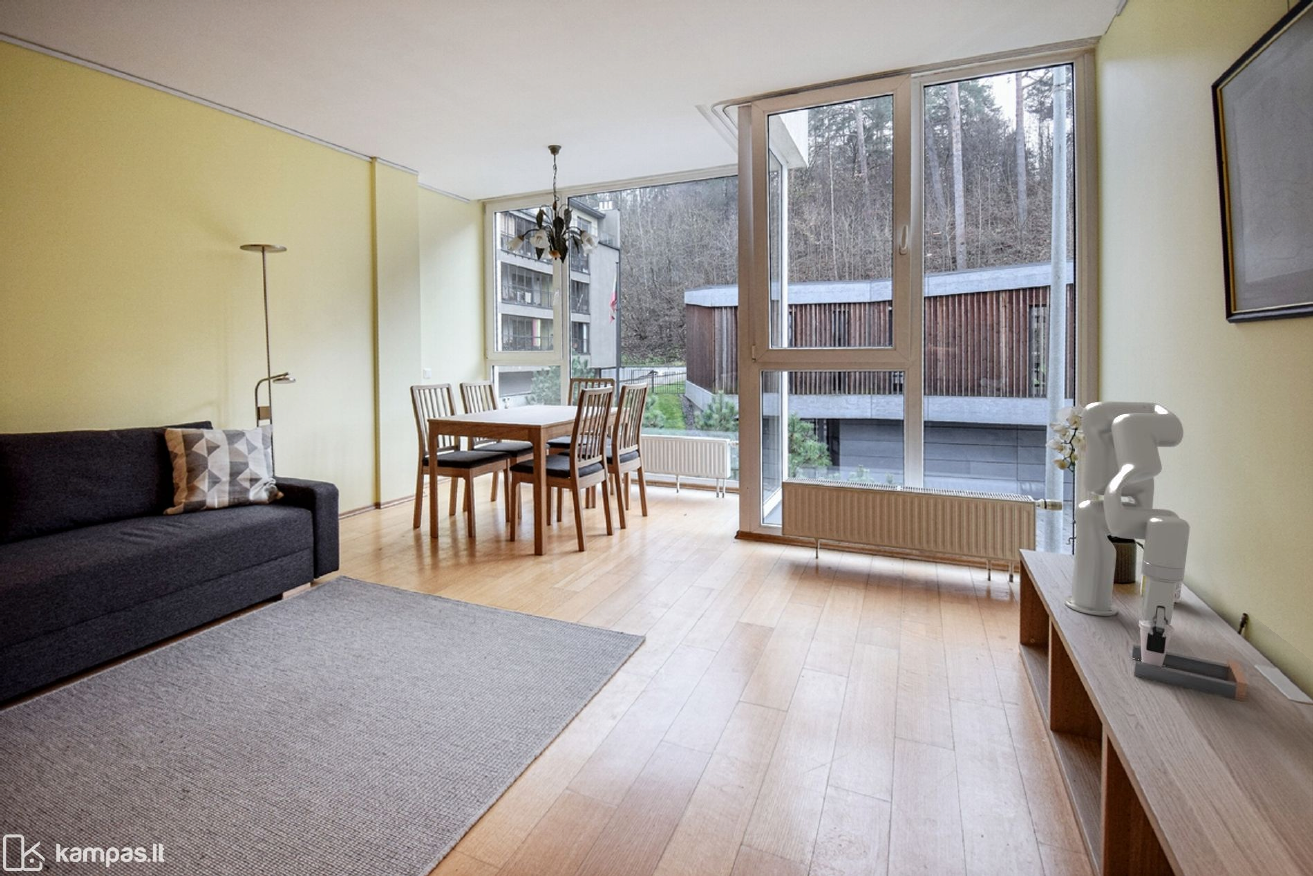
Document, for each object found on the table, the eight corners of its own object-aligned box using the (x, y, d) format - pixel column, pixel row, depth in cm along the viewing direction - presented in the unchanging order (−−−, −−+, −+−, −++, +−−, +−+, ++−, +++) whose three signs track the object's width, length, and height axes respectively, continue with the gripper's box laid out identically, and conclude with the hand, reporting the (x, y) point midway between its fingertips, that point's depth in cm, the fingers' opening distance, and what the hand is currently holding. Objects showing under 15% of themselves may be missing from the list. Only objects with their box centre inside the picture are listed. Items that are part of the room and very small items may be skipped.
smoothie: (1127, 660, 147) (1134, 603, 145) (1146, 655, 149) (1152, 599, 147) (1157, 673, 141) (1164, 614, 139) (1176, 668, 143) (1183, 610, 141)
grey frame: (1131, 656, 152) (1133, 640, 151) (1234, 678, 141) (1237, 662, 141) (1134, 676, 142) (1136, 659, 142) (1245, 701, 132) (1247, 684, 131)
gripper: (1139, 557, 151) (1131, 628, 154) (1144, 578, 137) (1135, 656, 140) (1180, 563, 147) (1171, 636, 149) (1188, 585, 133) (1178, 665, 135)
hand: (1153, 645), depth 145 cm, fingers closed on smoothie, 6 cm apart
